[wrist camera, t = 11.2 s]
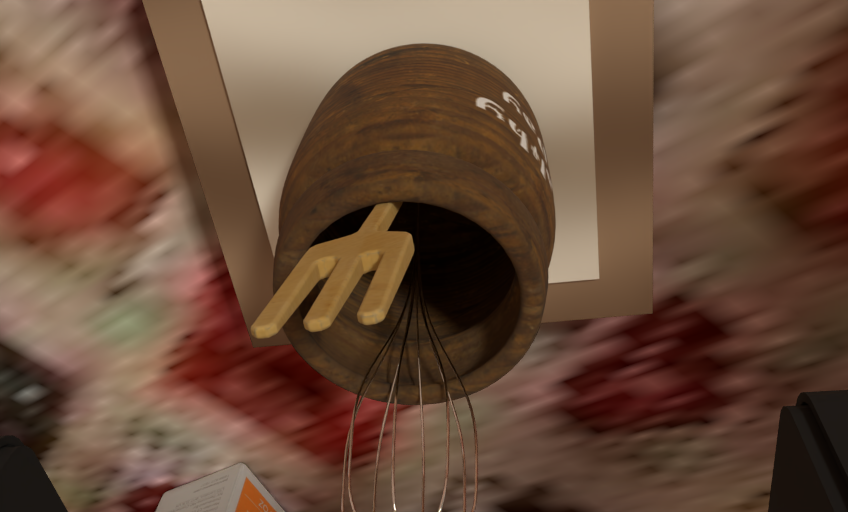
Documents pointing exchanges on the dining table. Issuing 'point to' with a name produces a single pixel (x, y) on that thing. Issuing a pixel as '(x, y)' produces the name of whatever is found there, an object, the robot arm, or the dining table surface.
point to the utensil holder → (415, 235)
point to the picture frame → (435, 24)
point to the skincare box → (221, 494)
